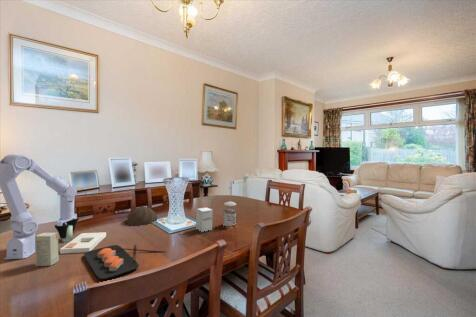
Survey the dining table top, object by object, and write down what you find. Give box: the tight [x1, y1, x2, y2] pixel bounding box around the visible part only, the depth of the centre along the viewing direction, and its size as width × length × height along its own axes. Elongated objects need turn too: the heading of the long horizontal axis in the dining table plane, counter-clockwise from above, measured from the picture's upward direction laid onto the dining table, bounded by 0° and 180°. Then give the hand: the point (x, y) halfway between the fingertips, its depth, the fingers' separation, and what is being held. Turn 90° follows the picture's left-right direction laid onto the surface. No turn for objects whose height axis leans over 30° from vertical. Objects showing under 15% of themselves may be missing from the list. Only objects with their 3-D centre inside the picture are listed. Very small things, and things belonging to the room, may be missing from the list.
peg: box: [61, 225, 74, 243], centre depth 116 cm, size 4×4×7 cm
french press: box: [219, 186, 237, 226], centre depth 147 cm, size 10×12×25 cm
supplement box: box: [195, 207, 213, 233], centre depth 137 cm, size 7×7×13 cm
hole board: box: [59, 232, 107, 255], centre depth 112 cm, size 20×12×2 cm, turn 11°
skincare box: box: [34, 232, 60, 267], centre depth 93 cm, size 6×4×12 cm
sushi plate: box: [83, 244, 165, 280], centre depth 100 cm, size 29×30×4 cm
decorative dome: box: [125, 206, 159, 227], centre depth 150 cm, size 19×20×10 cm
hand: (67, 235), depth 116 cm, fingers open, 7 cm apart
